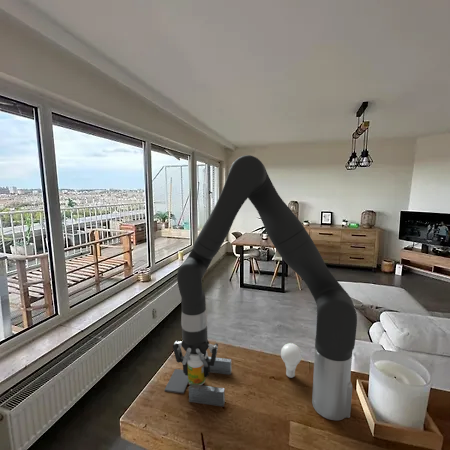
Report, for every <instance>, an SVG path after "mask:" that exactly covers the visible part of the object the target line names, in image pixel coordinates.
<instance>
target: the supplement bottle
mask: <svg viewBox="0 0 450 450" xmlns="http://www.w3.org/2000/svg"><path fill="white" fill-rule="evenodd" d="M187 366H188V384H189V385H190V384H195V385H203V384H204V383H205V382H206V378H205V377H204V364H203V362H202V361H201V360H200V358H199V355H198V354H190V355H189V358H188V361H187Z"/></svg>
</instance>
